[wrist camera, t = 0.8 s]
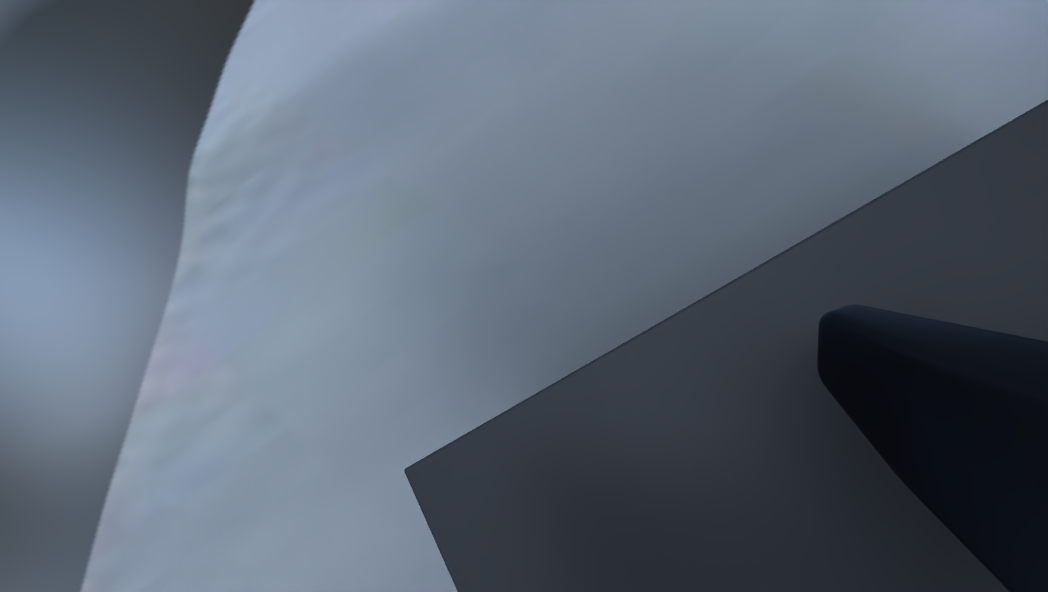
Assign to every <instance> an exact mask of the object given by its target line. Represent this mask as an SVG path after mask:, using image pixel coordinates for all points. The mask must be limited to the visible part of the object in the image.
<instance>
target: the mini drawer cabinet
mask: <svg viewBox="0 0 1048 592" xmlns="http://www.w3.org/2000/svg"><path fill="white" fill-rule="evenodd" d="M851 304H857V305H863V306H868V307H873V308H878V309H884V310H889V311H894V312H899V313H904V314H909V315H914V316H919V317H925V318H930V319H935V320H940V321H945V322H950V323H955V324H960V325H965V326H971V327H976V328H981V329H986V330H991V331H996V332H1001V333H1006V334H1012V335H1017V336H1022V337H1027V338H1032V339H1037V340H1042V341H1047V342H1048V100H1046V101H1045V102H1043V103H1041V104H1040V105H1038V106H1036V107H1034V108H1033V109H1031V110H1029V111H1027V112H1026V113H1024V114H1022V115H1020V116H1019V117H1017V118H1015V119H1013V120H1012V121H1010V122H1008V123H1006V124H1005V125H1003V126H1001V127H999V128H998V129H996V130H994V131H992V132H991V133H989V134H987V135H986V136H984V137H982V138H980V139H979V140H977V141H975V142H973V143H972V144H970V145H968V146H966V147H965V148H963V149H961V150H959V151H958V152H956V153H954V154H952V155H951V156H949V157H947V158H945V159H944V160H942V161H940V162H938V163H937V164H935V165H933V166H932V167H930V168H928V169H926V170H925V171H923V172H921V173H919V174H918V175H916V176H914V177H912V178H911V179H909V180H907V181H905V182H904V183H902V184H900V185H898V186H897V187H895V188H893V189H891V190H890V191H888V192H886V193H885V194H883V195H881V196H879V197H878V198H876V199H874V200H872V201H871V202H869V203H867V204H865V205H864V206H862V207H860V208H858V209H857V210H855V211H853V212H851V213H850V214H848V215H846V216H844V217H843V218H841V219H839V220H837V221H836V222H834V223H832V224H831V225H829V226H827V227H825V228H824V229H822V230H820V231H818V232H817V233H815V234H813V235H811V236H810V237H808V238H806V239H804V240H803V241H801V242H799V243H797V244H796V245H794V246H792V247H790V248H789V249H787V250H785V251H783V252H782V253H780V254H778V255H777V256H775V257H773V258H771V259H770V260H768V261H766V262H764V263H763V264H761V265H759V266H757V267H756V268H754V269H752V270H750V271H749V272H747V273H745V274H743V275H742V276H740V277H738V278H736V279H735V280H733V281H731V282H729V283H728V284H726V285H724V286H723V287H721V288H719V289H717V290H716V291H714V292H712V293H710V294H709V295H707V296H705V297H703V298H702V299H700V300H698V301H696V302H695V303H693V304H691V305H689V306H688V307H686V308H684V309H682V310H681V311H679V312H677V313H675V314H674V315H672V316H670V317H669V318H667V319H665V320H663V321H662V322H660V323H658V324H656V325H655V326H653V327H651V328H649V329H648V330H646V331H644V332H642V333H641V334H639V335H637V336H635V337H634V338H632V339H630V340H628V341H627V342H625V343H623V344H622V345H620V346H618V347H616V348H615V349H613V350H611V351H609V352H608V353H606V354H604V355H602V356H601V357H599V358H597V359H595V360H594V361H592V362H590V363H588V364H587V365H585V366H583V367H581V368H580V369H578V370H576V371H574V372H573V373H571V374H569V375H568V376H566V377H564V378H562V379H561V380H559V381H557V382H555V383H554V384H552V385H550V386H548V387H547V388H545V389H543V390H541V391H540V392H538V393H536V394H534V395H533V396H531V397H529V398H527V399H526V400H524V401H522V402H520V403H519V404H517V405H515V406H514V407H512V408H510V409H508V410H507V411H505V412H503V413H501V414H500V415H498V416H496V417H494V418H493V419H491V420H489V421H487V422H486V423H484V424H482V425H480V426H479V427H477V428H475V429H473V430H472V431H470V432H468V433H466V434H465V435H463V436H461V437H460V438H458V439H456V440H454V441H453V442H451V443H449V444H447V445H446V446H444V447H442V448H440V449H439V450H437V451H435V452H433V453H432V454H430V455H428V456H426V457H425V458H423V459H421V460H419V461H418V462H416V463H414V464H412V465H411V466H409V467H407V468H406V469H405V474H406V476H407V478H408V480H409V483H410V485H411V487H412V489H413V492H414V494H415V496H416V498H417V501H418V503H419V505H420V507H421V510H422V512H423V514H424V517H425V519H426V521H427V523H428V526H429V528H430V530H431V532H432V535H433V537H434V539H435V541H436V544H437V546H438V548H439V550H440V553H441V555H442V557H443V559H444V562H445V564H446V566H447V568H448V571H449V573H450V575H451V577H452V580H453V582H454V584H455V586H456V589H457V591H458V592H1010V591H1009V590H1008V589H1007V588H1006V587H1005V586H1004V585H1003V584H1002V583H1001V582H1000V581H999V580H998V579H997V578H996V577H995V576H994V575H993V574H992V573H991V572H990V571H989V570H988V569H987V568H986V567H985V566H984V565H983V564H982V563H981V562H980V561H979V560H978V559H977V558H976V557H975V556H974V555H973V554H972V553H971V552H970V551H969V550H968V549H967V548H966V547H965V546H964V544H963V543H962V542H961V541H960V540H959V539H958V538H957V537H956V536H955V535H954V534H953V533H952V532H951V531H950V530H949V529H948V528H947V527H946V526H945V525H944V524H943V523H942V522H941V521H940V520H939V519H938V518H937V517H936V516H935V515H934V514H933V513H932V512H931V511H930V510H929V509H928V508H927V507H926V506H925V505H924V504H923V503H922V502H921V501H920V500H919V499H918V498H917V497H916V495H915V494H914V493H913V492H912V491H911V490H910V489H909V488H908V487H907V486H906V485H905V484H904V483H903V482H902V480H901V479H900V478H899V477H898V476H897V475H896V473H895V472H894V471H893V470H892V469H891V468H890V466H889V465H888V464H887V463H886V462H885V460H884V459H883V458H882V457H881V455H880V454H879V453H878V452H877V450H876V449H875V448H874V447H873V446H872V444H871V443H870V442H869V441H868V439H867V438H866V437H865V436H864V434H863V433H862V432H861V431H860V429H859V428H858V427H857V426H856V424H855V423H854V422H853V421H852V419H851V418H850V417H849V416H848V414H847V413H846V412H845V411H844V409H843V408H842V407H841V406H840V405H839V403H838V402H837V401H836V400H835V398H834V397H833V396H832V395H831V393H830V392H829V391H828V390H827V388H826V387H825V386H824V384H823V382H822V381H821V379H820V376H819V373H818V368H817V359H818V330H819V321H820V319H821V317H822V316H823V315H824V314H825V313H827V312H830V311H833V310H835V309H838V308H841V307H844V306H847V305H851Z"/></svg>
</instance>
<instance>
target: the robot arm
mask: <svg viewBox="0 0 1048 592" xmlns="http://www.w3.org/2000/svg"><path fill="white" fill-rule="evenodd" d="M817 368H818V373H819V376H820V379H821V381H822V382H823V384H824V386H825V387H826V388H827V390H828V391H829V392H830V393H831V395H832V396H833V397H834V398H835V400H836V401H837V402H838V403H839V405H840V406H841V407H842V408H843V409H844V411H845V412H846V413H847V414H848V416H849V417H850V418H851V419H852V421H853V422H854V423H855V424H856V426H857V427H858V428H859V429H860V431H861V432H862V433H863V434H864V436H865V437H866V438H867V439H868V441H869V442H870V443H871V444H872V446H873V447H874V448H875V449H876V450H877V452H878V453H879V454H880V455H881V457H882V458H883V459H884V460H885V462H886V463H887V464H888V465H889V466H890V468H891V469H892V470H893V471H894V472H895V473H896V475H897V476H898V477H899V478H900V479H901V480H902V482H903V483H904V484H905V485H906V486H907V487H908V488H909V489H910V490H911V491H912V492H913V493H914V494H915V495H916V497H917V498H918V499H919V500H920V501H921V502H922V503H923V504H924V505H925V506H926V507H927V508H928V509H929V510H930V511H931V512H932V513H933V514H934V515H935V516H936V517H937V518H938V519H939V520H940V521H941V522H942V523H943V524H944V525H945V526H946V527H947V528H948V529H949V530H950V531H951V532H952V533H953V534H954V535H955V536H956V537H957V538H958V539H959V540H960V541H961V542H962V543H963V544H964V546H965V547H966V548H967V549H968V550H969V551H970V552H971V553H972V554H973V555H974V556H975V557H976V558H977V559H978V560H979V561H980V562H981V563H982V564H983V565H984V566H985V567H986V568H987V569H988V570H989V571H990V572H991V573H992V574H993V575H994V576H995V577H996V578H997V579H998V580H999V581H1000V582H1001V583H1002V584H1003V585H1004V586H1005V587H1006V588H1007V589H1008V590H1009V591H1010V592H1048V342H1047V341H1042V340H1037V339H1032V338H1027V337H1022V336H1017V335H1012V334H1006V333H1001V332H996V331H991V330H986V329H981V328H976V327H971V326H965V325H960V324H955V323H950V322H945V321H940V320H935V319H930V318H925V317H919V316H914V315H909V314H904V313H899V312H894V311H889V310H884V309H878V308H873V307H868V306H863V305H857V304H851V305H847V306H844V307H841V308H838V309H835V310H833V311H830V312H827V313H825V314H824V315H823V316H822V317H821V319H820V321H819V330H818V359H817Z"/></svg>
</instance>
